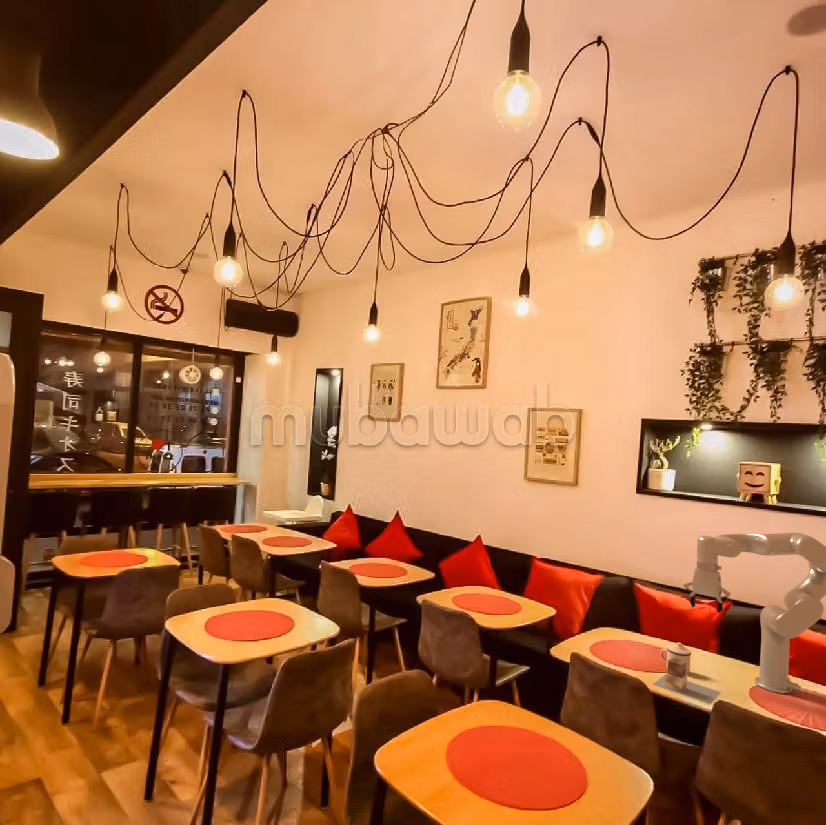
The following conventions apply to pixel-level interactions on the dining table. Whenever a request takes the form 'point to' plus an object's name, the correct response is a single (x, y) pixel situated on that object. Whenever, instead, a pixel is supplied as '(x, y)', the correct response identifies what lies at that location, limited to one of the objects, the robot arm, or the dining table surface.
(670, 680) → the maple block
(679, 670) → the walnut block
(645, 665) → the dining table surface
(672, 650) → the teacup with lid
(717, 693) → the slate board
